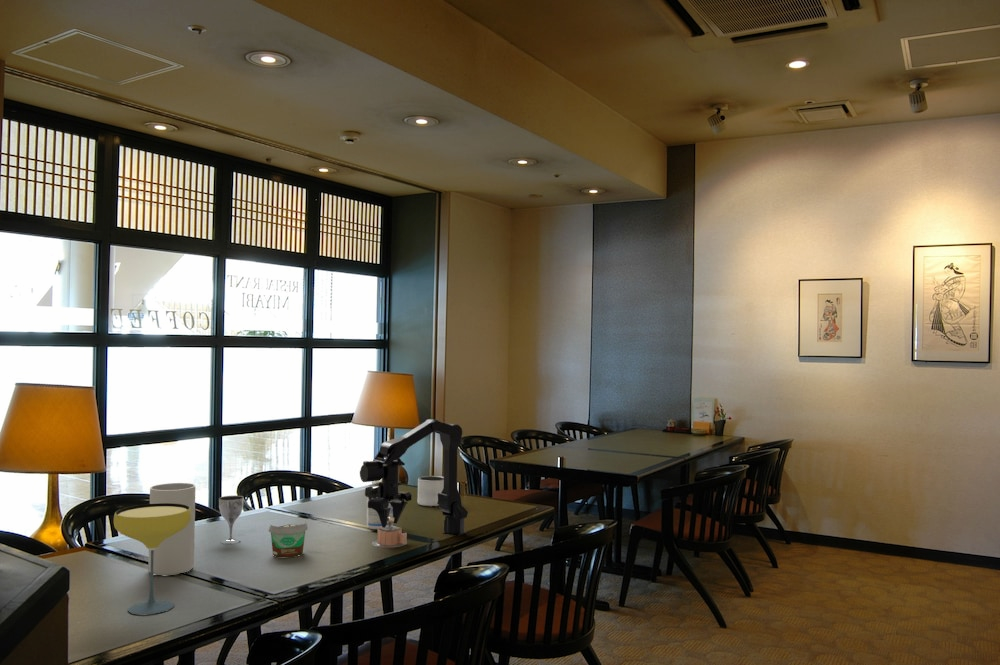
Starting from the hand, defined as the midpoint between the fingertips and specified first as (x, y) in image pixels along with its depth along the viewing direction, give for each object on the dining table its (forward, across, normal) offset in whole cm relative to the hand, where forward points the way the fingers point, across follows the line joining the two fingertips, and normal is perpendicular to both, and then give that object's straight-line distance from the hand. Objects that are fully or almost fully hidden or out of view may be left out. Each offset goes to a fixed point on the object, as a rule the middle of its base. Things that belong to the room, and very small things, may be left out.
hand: (389, 525), depth 266 cm
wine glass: (+7, +22, -50) cm, 55 cm away
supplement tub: (+7, -19, -17) cm, 26 cm away
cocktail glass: (+7, +82, -18) cm, 84 cm away
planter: (+7, -66, -22) cm, 70 cm away
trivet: (+7, 0, 0) cm, 7 cm away
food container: (+7, +27, -20) cm, 34 cm away
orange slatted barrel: (+6, 0, 0) cm, 6 cm away
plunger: (+5, 0, 0) cm, 5 cm away
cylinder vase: (+7, +56, -40) cm, 69 cm away
